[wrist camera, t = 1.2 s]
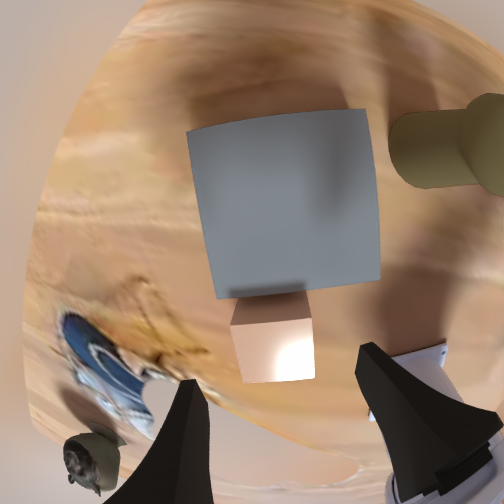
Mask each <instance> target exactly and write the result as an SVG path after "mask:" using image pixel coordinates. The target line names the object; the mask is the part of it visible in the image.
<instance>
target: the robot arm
mask: <svg viewBox="0 0 504 504" xmlns="http://www.w3.org/2000/svg"><path fill="white" fill-rule="evenodd" d="M447 350H448V345H447V344H446V343H444V344H440V345H437V346H434V347H430V348H427V349H423V350H419V351H416V352H412V353H408V354H404V355H400V356H396V357H390V356H389V355H387V354H386V353H385V352H384V351H383V350H382V349H380V348H379V347H378V346H377V345H376V344H375V343H373V342H369V343H366V344H363V345H360V349H359V354H358V359H357V364H356V369H355V375H356V378H357V381H358V384H359V387H360V389H361V392H362V394H363V396H364V398H365V400H366V402H367V404H368V406H369V408H370V413H369V421H375V420H376V421H377V423H378V425H379V427H380V430H381V433H382V437H383V440H384V444H385V447H386V451H387V454H388V457H389V459H390V460H391V462H392V466H393V470H394V471H393V472H392V473H391V474H390V475H389V476H388V479H387V481H386V486H385V501H386V504H502V502H501V501H502V499H503V497H504V436H503V434H502V432H501V431H500V429H501V428H502V427H503V425H504V424H503V422H502V421H501V419H500V418H499V416H498V415H497V413H496V412H493V411H488V410H484V409H480V408H476V407H473V406H470V405H467V404H465V403H464V401H463V400H462V398H461V396H460V395H459V393H458V392H457V390H456V388H455V387H454V385H453V384H452V382H451V381H450V379H449V378H448V376H447V375H446V373H445V372H444V370H443V369H442V367H443V364H444V361H445V357H446V354H447ZM209 439H210V422H209V411H208V403H207V401H206V399H205V397H204V395H203V393H202V391H201V389H200V387H199V385H198V383H197V381H196V379H191V380H182V381H181V382H180V384H179V387H178V390H177V393H176V395H175V398H174V400H173V403H172V406H171V408H170V410H169V412H168V415H167V417H166V419H165V421H164V423H163V426H162V428H161V429H160V431H159V434H158V435H157V437H156V439H155V441H154V443H153V444H152V446H151V448H150V449H149V451H148V453H147V454H146V456H145V457H144V459H143V460H142V462H141V463H140V464H139V466H138V467H137V469H136V470H135V471H134V472H133V474H132V475H131V476H130V477H129V478H128V479H127V481H126V482H125V483H124V484H123V485H122V486H121V487H120V488H119V489H118V490H117V491H116V492H115V493H114V494H113V495H112V496H111V497H110V498H109V499H107V500H106V501H105V502H104V503H103V504H214V502H213V495H212V489H211V481H210V473H209Z"/></svg>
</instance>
